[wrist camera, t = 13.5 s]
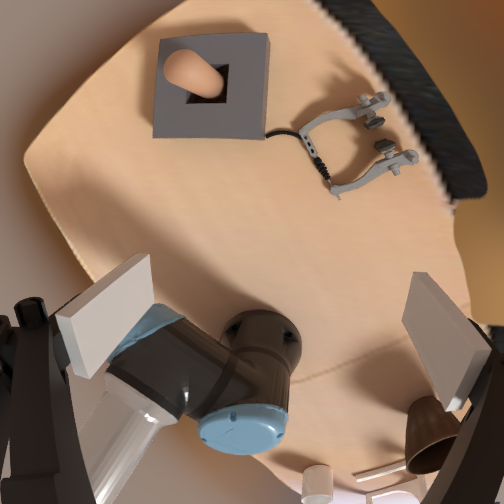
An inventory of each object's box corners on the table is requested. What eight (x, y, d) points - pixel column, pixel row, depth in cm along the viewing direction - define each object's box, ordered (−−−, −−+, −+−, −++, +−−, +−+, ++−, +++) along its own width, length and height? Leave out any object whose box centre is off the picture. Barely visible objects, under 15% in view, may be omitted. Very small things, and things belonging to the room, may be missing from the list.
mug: (319, 456, 67) (319, 488, 57) (337, 472, 69) (338, 501, 59) (291, 463, 70) (289, 494, 60) (311, 479, 72) (310, 507, 62)
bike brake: (382, 84, 38) (268, 134, 46) (389, 77, 32) (257, 136, 40) (418, 164, 41) (306, 209, 50) (430, 171, 35) (301, 223, 44)
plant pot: (410, 382, 55) (429, 437, 40) (460, 384, 54) (483, 432, 39) (384, 425, 60) (393, 477, 45) (432, 424, 59) (447, 471, 44)
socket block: (264, 140, 44) (260, 139, 40) (166, 138, 46) (152, 138, 42) (270, 43, 39) (267, 33, 34) (172, 47, 41) (160, 39, 36)
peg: (229, 101, 43) (199, 83, 29) (201, 102, 44) (162, 86, 30) (230, 75, 42) (201, 47, 28) (203, 76, 42) (165, 51, 28)
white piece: (366, 495, 74) (369, 541, 55) (355, 474, 69) (358, 528, 51) (421, 478, 69) (430, 524, 50) (419, 455, 64) (430, 508, 45)
